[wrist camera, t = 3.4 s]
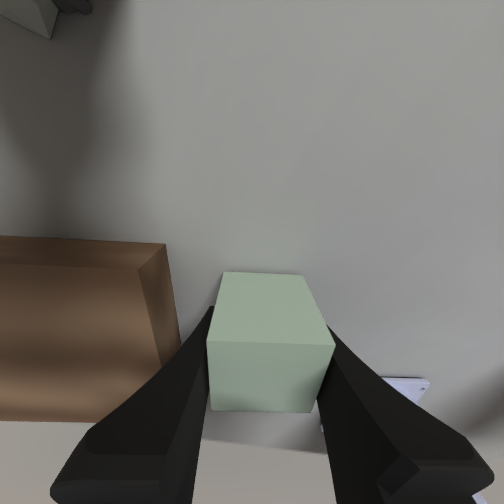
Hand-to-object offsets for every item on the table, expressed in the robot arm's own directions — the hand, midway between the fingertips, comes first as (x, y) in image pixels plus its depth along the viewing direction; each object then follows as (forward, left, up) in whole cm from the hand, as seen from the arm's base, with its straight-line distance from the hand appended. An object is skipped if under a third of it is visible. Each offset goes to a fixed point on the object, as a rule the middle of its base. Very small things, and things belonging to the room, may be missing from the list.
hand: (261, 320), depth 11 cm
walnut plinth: (-3, +13, -2) cm, 13 cm away
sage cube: (0, 0, -1) cm, 1 cm away
